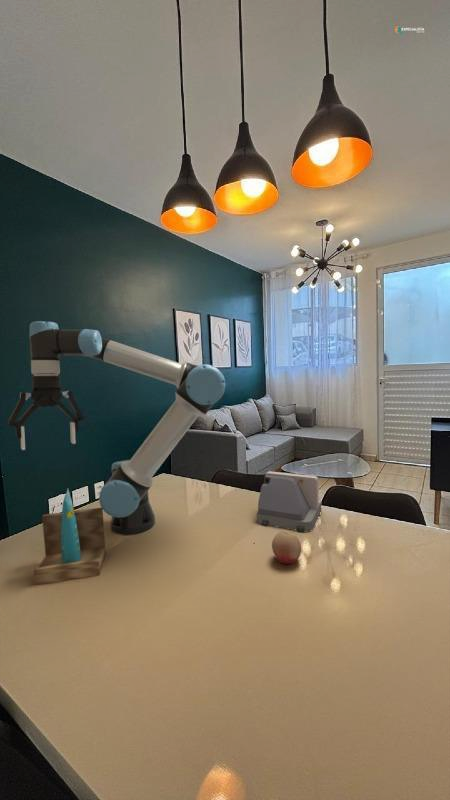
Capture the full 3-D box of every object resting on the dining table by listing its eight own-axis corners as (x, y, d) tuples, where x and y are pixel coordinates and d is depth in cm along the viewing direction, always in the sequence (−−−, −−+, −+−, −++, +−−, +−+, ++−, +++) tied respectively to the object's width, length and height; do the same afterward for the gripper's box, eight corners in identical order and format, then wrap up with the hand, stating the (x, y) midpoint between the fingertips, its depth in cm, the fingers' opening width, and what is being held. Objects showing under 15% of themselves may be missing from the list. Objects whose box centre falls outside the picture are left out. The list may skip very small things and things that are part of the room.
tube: (81, 563, 92) (76, 494, 90) (62, 568, 90) (55, 498, 88) (80, 551, 99) (75, 486, 97) (62, 555, 97) (56, 489, 95)
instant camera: (329, 514, 122) (328, 473, 121) (305, 537, 106) (304, 491, 105) (277, 502, 135) (275, 465, 134) (248, 522, 119) (246, 480, 118)
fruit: (304, 555, 95) (303, 528, 95) (297, 571, 88) (296, 542, 88) (276, 550, 99) (275, 524, 98) (268, 565, 92) (267, 536, 91)
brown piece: (105, 552, 102) (102, 507, 101) (99, 574, 91) (95, 524, 90) (48, 561, 99) (43, 514, 98) (34, 584, 88) (29, 532, 86)
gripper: (86, 374, 111) (88, 439, 113) (-6, 375, 96) (-2, 449, 98) (93, 374, 105) (95, 442, 107) (-4, 375, 90) (0, 454, 92)
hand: (49, 446), depth 102 cm, fingers open, 13 cm apart
